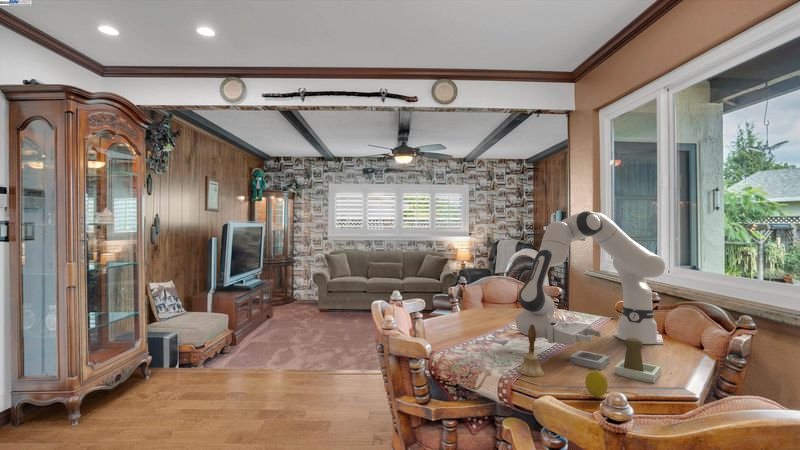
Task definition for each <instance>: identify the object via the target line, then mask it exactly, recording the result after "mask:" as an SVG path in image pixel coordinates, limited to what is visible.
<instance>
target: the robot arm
mask: <svg viewBox="0 0 800 450" xmlns="http://www.w3.org/2000/svg"><path fill="white" fill-rule="evenodd" d="M589 237H590V238H592V239H593V240H594V241H595V243H597V244H598V246H600V247H601V248H602V250H604V251H605V253H607V254H608V255H609V256H610V257H613V259H612V266H613V267H614V269H615V270H616V272H617V273H618V277H619V280H620V282H621V286H622V306H621V307H622V308H621V314H622V315H621V316H619V318H618V319H617V332H614V333H613V337H614V338H618V339H620V340H623V341H625V340H626V339H627V338H635V339H639V340H640V341H642V344H643V345H664V340H663V336H662V334H660V332H659V331H658V325H657V322H656V320H655V319H654V317H655V312H654V309H653V291H652V289H651V287H650V286H649V284H648V283H647V280H646V279H655V278H658V277H660V276H662V274H663V273H664V272H665V269H666V263H665V260H664V259H663V258H662V257H661V256H660V255H658V254H655V253H654V252H651V251H650V250H648V249H647V248H646V247H644V246H642V245H641V244H639V243H638V242H637V241H635V240H633V239H632V238H631V237H630V236H629V235H628V234H627V233H626V232H624V231H623V230H622V229H621V228H620V227H619V226H618V225H617V224H616V223H615V222H614V221H613V220H611V219H610V218H609V217H607V216H606V215H605V214H603V213H601V212H596V211H595V212H594V211H589V210H587V211H581V212H580V213H575V214H573V215H570V216H568V217H566V218H563V219H562V220H555V221H552V222H550V223H549V224H548V225H547V227H546V229H545V232H544V234H543V237H542V239H541V244H540V247H539V250H538V252H537V254H536V255H535V257H534V260H533V261H532V265H531V267H530V271H529V273H528V276H527V279H526V281H525V283H524V284H523V286H522V287H521V289H519V292H518V295H517V300H518V303H519V305H520V306H521V308H523V310H522V311H520V313H518V314H517V315H516V317H515V326H516V328H517V330H518V332H520V333H521V334H523V335H525V336H528V330H529V328H530V325H531V324H533V325H534V326H535V330H536V339H545V340H547V342H548V343H549V344H555V343H556V344H563V345H574V344H576V343H578V342H588V343H592V342H593V341H594V340H593V339H594V338H593V336H595V337H599V338H600V337H601V336H602V331H600V330H596V329H594V328H592V326H591V325H592V324H588V323H582V322H572V321H571V322H569V323H568V322H566V320H565V319H564V318H560V317H554V313H555V310H556V303H555V301H554V300H553V298H552V297H551V296H550V295H549V294H547V293H546V292H545V290H544V285H545V284H544V283H545V281H546V278H547V275H548V272H549V269H550V268H551V267H558V266H561V265H562V264H564V263H565V261H566V259H567V257H568V255H569V251H570V250H569V249H570V245H571V243H572V242H575V241H581V240H584V239H586V238H589Z"/></svg>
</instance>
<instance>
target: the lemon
mask: <svg viewBox="0 0 800 450" xmlns="http://www.w3.org/2000/svg"><path fill="white" fill-rule="evenodd" d="M585 387H586V390H587V392H588V393H589V394H590V395H592V396H593V397H594V398H595V399H598V398H599V397H602V396H604V395H605V394H606V393H607V391H608V380H607V378H606V375H604V374H603V373H602V372H601V370H597V369H593V370H591V371H589V372H588V373H587V375H586V377H585Z"/></svg>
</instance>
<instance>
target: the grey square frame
mask: <svg viewBox="0 0 800 450" xmlns="http://www.w3.org/2000/svg"><path fill="white" fill-rule="evenodd" d="M610 361H611V359H610V355H606V354H605V355H604V354H599V353H595V352H590V351H586V350H581V349H580V350H578V351H576V352H574V353H572V354H571V355H570V356H569V364H573V365H577V366H580V367H586V368H589V369H593V370H598V371H603V370H604V368H605V367H607V366H608V365H609V364H610Z"/></svg>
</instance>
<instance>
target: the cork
mask: <svg viewBox="0 0 800 450" xmlns="http://www.w3.org/2000/svg"><path fill="white" fill-rule="evenodd" d="M624 347H625V349H626V350H625V356H624V359H625V361H624V367H623V368H627V369H632V370H636V371H641V372H644V369H643V363H644V362H643V356H642V350H643V347H644V344H642V341H640V340H639V339H635V338H627V339H626V340H624Z"/></svg>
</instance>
